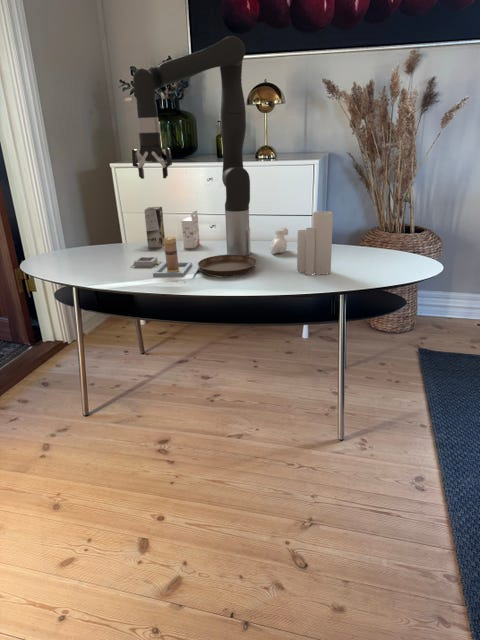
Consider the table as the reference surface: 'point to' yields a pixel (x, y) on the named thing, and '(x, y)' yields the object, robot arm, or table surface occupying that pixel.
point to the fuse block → (146, 262)
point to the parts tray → (172, 274)
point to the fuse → (171, 254)
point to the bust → (279, 241)
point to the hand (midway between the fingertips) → (153, 178)
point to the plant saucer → (227, 265)
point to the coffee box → (154, 226)
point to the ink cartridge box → (190, 231)
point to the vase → (316, 245)
